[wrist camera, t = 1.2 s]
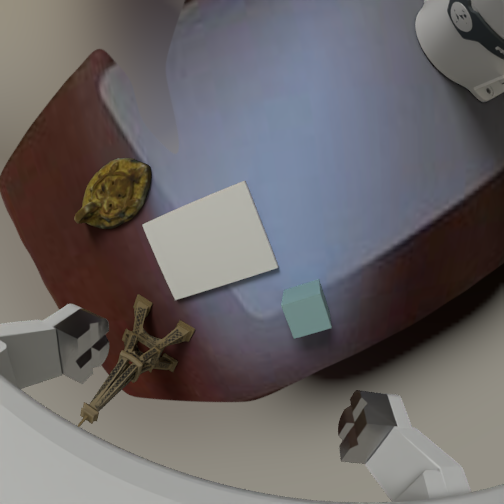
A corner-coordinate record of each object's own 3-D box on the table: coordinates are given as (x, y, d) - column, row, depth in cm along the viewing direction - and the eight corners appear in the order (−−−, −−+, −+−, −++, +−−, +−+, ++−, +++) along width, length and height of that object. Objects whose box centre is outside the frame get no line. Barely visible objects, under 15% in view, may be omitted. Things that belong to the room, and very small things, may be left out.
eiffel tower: (138, 293, 46) (31, 383, 22) (195, 328, 46) (115, 447, 22) (122, 339, 49) (35, 428, 25) (173, 370, 49) (104, 478, 25)
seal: (139, 140, 41) (78, 198, 45) (121, 135, 36) (59, 198, 40) (167, 191, 41) (101, 245, 45) (150, 190, 36) (81, 249, 40)
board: (245, 180, 39) (244, 180, 38) (278, 266, 41) (278, 267, 40) (144, 223, 42) (142, 224, 42) (177, 298, 45) (175, 300, 44)
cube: (318, 278, 41) (320, 293, 36) (329, 310, 41) (331, 327, 37) (283, 289, 42) (281, 305, 37) (295, 320, 43) (293, 338, 38)
